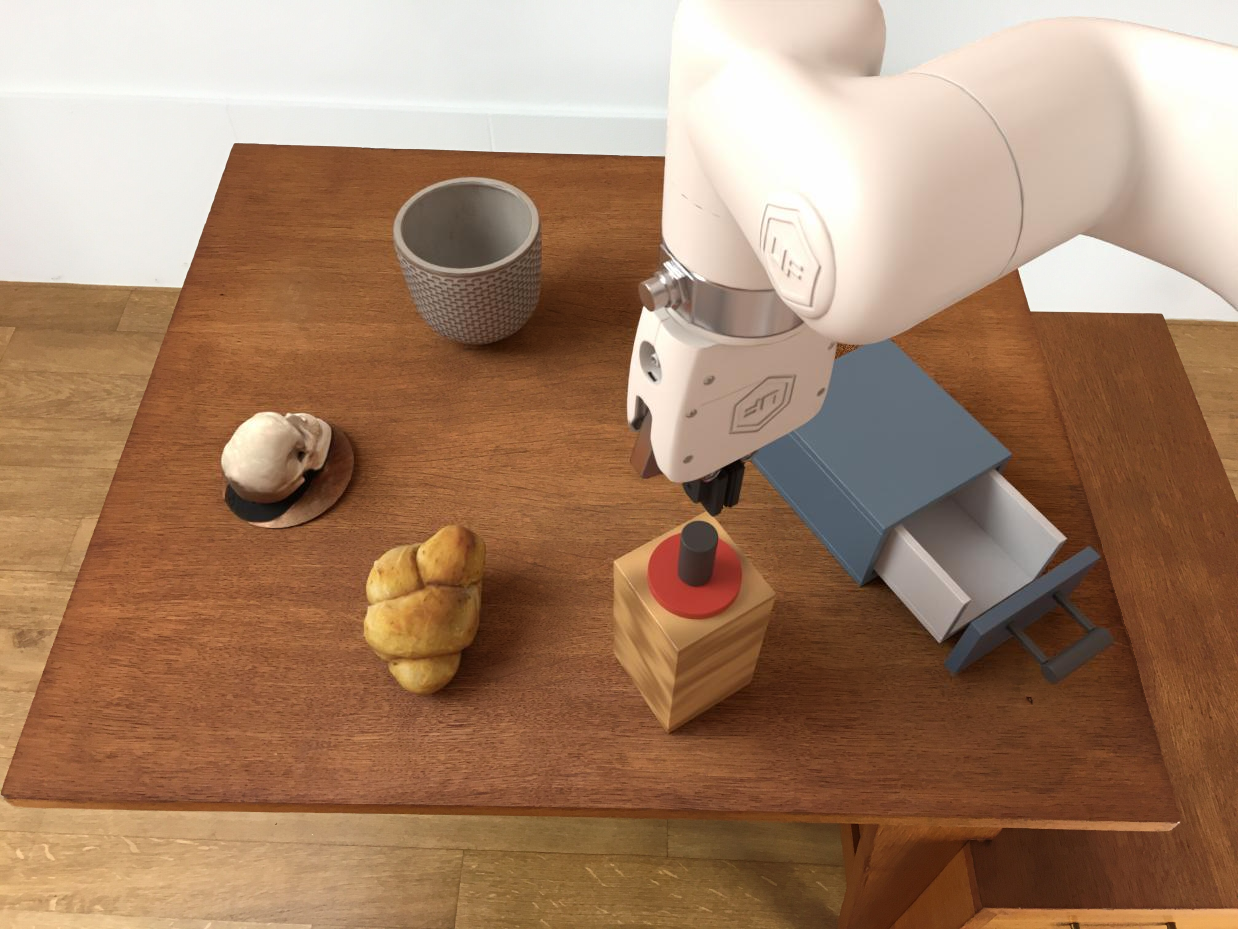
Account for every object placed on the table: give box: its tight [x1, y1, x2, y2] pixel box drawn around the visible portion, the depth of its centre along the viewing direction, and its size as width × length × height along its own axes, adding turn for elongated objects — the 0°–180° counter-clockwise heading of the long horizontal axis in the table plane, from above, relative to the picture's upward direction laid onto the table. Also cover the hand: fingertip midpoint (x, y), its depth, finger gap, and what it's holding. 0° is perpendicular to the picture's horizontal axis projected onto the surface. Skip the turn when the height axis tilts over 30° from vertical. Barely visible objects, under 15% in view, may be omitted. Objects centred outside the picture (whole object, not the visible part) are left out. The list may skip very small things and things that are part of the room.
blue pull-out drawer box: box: [874, 469, 1115, 685], centre depth 78 cm, size 20×13×7 cm, turn 32°
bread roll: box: [362, 523, 487, 696], centre depth 77 cm, size 13×10×8 cm
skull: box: [220, 411, 355, 529], centre depth 88 cm, size 12×10×10 cm
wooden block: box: [613, 510, 777, 735], centre depth 72 cm, size 8×8×15 cm
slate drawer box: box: [750, 338, 1013, 587], centre depth 85 cm, size 16×14×9 cm
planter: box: [392, 176, 543, 346], centre depth 95 cm, size 14×14×13 cm
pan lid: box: [647, 520, 742, 619], centre depth 64 cm, size 6×6×5 cm
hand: (710, 493), depth 58 cm, fingers closed
